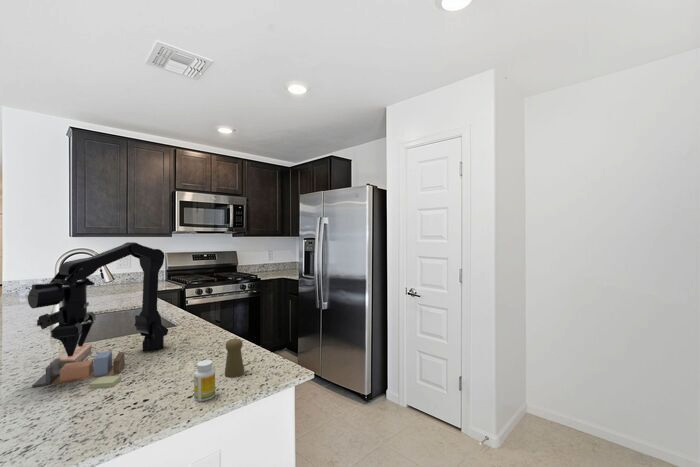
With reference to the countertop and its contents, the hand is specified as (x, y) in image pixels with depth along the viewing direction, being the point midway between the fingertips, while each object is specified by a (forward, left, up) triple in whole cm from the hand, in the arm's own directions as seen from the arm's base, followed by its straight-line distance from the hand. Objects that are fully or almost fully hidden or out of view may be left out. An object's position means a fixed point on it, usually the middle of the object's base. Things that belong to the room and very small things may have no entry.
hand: (75, 351), depth 102 cm
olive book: (-10, +11, -9) cm, 17 cm away
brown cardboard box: (0, 0, -8) cm, 8 cm away
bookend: (+7, 0, -8) cm, 10 cm away
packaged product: (+6, -16, -10) cm, 20 cm away
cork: (-45, +17, -9) cm, 50 cm away
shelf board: (-1, 0, -9) cm, 9 cm away
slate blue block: (-7, 0, -8) cm, 10 cm away
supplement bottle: (-36, +29, -9) cm, 48 cm away
